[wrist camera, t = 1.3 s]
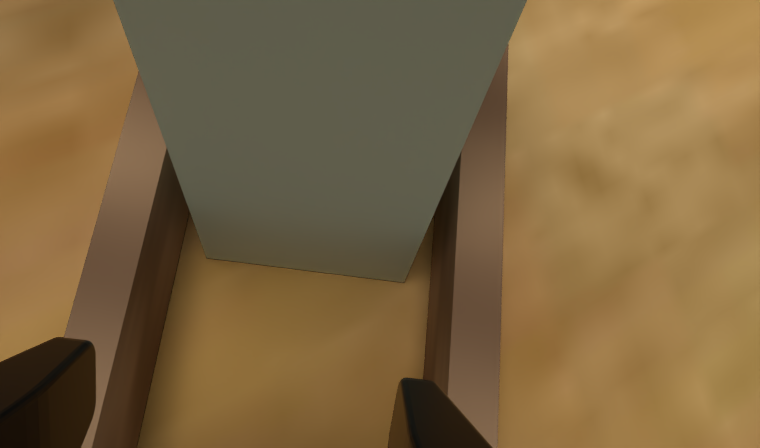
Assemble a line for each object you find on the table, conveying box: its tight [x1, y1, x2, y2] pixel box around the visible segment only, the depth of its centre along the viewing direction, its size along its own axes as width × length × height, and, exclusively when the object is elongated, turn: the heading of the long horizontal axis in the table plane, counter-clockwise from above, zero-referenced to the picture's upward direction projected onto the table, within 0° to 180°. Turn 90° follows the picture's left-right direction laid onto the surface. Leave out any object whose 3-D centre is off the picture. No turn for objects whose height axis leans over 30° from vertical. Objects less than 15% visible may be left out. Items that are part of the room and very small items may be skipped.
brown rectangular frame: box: [64, 45, 508, 448], centre depth 18 cm, size 18×10×4 cm, turn 174°
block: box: [113, 0, 527, 283], centre depth 15 cm, size 6×6×15 cm
